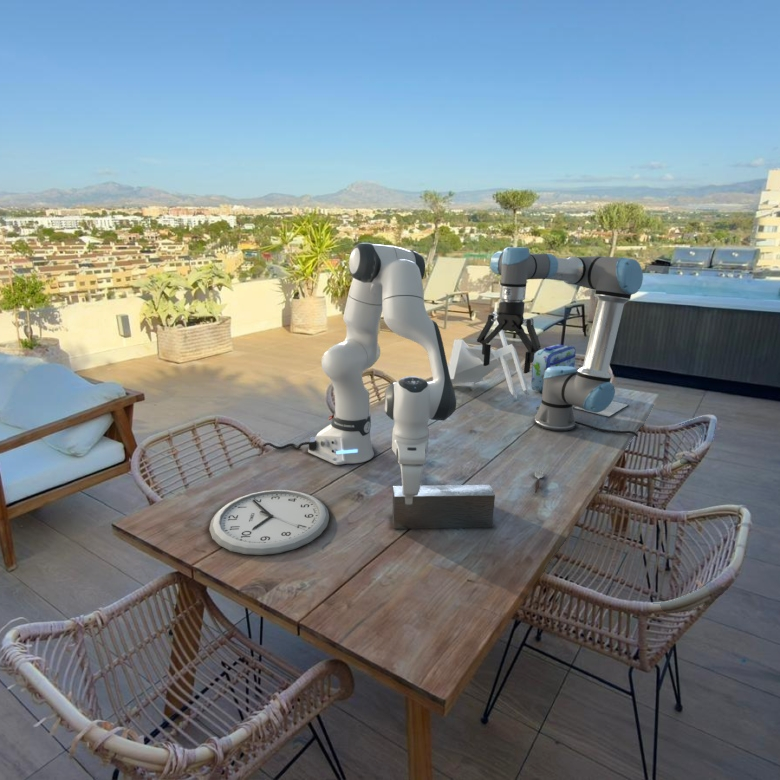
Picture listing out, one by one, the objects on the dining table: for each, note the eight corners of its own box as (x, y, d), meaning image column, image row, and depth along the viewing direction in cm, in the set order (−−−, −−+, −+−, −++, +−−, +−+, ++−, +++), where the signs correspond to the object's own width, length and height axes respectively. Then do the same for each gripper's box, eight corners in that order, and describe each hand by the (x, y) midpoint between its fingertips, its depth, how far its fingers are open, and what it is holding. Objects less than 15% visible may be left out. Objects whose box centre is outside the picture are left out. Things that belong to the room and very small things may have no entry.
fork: (530, 493, 151) (531, 487, 150) (535, 470, 165) (536, 465, 164) (539, 495, 150) (540, 489, 149) (544, 472, 164) (544, 466, 163)
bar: (487, 515, 139) (489, 484, 136) (492, 527, 134) (495, 495, 131) (392, 517, 137) (392, 485, 135) (393, 529, 132) (394, 496, 129)
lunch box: (547, 397, 237) (552, 352, 231) (526, 391, 245) (531, 348, 238) (574, 386, 255) (580, 344, 249) (554, 381, 262) (559, 340, 256)
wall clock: (327, 546, 121) (194, 551, 119) (327, 552, 122) (195, 557, 119) (330, 485, 150) (223, 488, 147) (330, 490, 150) (224, 493, 148)
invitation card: (608, 416, 214) (573, 407, 224) (608, 416, 214) (573, 408, 224) (628, 404, 229) (594, 396, 238) (628, 405, 229) (594, 397, 238)
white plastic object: (461, 429, 252) (437, 405, 227) (444, 352, 274) (420, 323, 250) (535, 404, 240) (518, 377, 215) (510, 326, 262) (492, 293, 237)
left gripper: (395, 426, 138) (393, 474, 142) (398, 461, 119) (396, 514, 123) (419, 427, 138) (416, 474, 142) (426, 461, 119) (423, 514, 123)
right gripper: (469, 297, 161) (464, 364, 167) (547, 305, 147) (539, 378, 153) (480, 295, 167) (476, 360, 173) (557, 303, 153) (549, 373, 159)
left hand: (407, 493), depth 132 cm, fingers open, 8 cm apart
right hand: (506, 368), depth 163 cm, fingers open, 13 cm apart
